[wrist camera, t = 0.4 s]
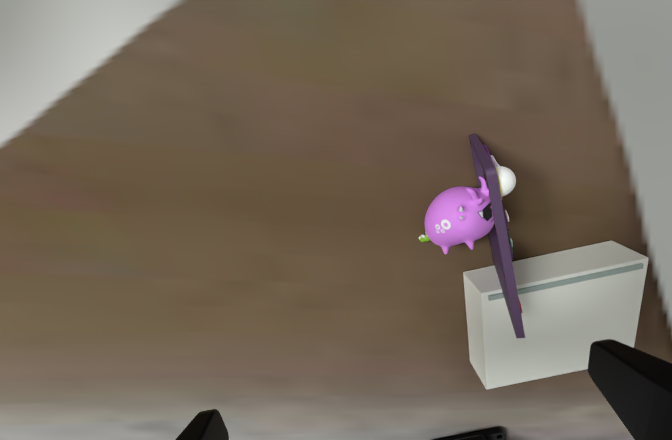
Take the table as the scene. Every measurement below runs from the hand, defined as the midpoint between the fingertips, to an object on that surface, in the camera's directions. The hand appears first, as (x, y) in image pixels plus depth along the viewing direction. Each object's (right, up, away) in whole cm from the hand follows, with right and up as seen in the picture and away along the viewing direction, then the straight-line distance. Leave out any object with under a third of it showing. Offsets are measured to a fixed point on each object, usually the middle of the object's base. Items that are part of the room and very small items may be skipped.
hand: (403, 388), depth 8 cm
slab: (+13, -2, +15) cm, 20 cm away
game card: (+6, +4, +12) cm, 14 cm away
